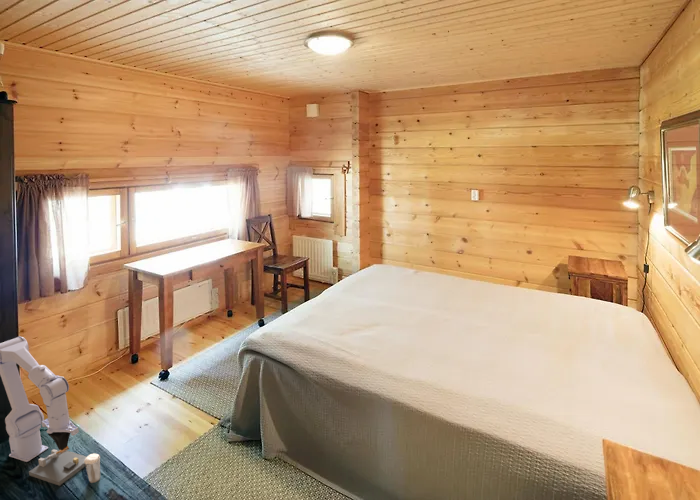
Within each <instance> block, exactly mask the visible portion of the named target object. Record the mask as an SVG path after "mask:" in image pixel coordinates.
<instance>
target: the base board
mask: <svg viewBox="0 0 700 500" xmlns="http://www.w3.org/2000/svg"><path fill="white" fill-rule="evenodd" d="M57 451H59V449H54V448H53V449H52V450H51V453H50V454H53V453H55V452H57ZM86 457H87V456H86V455H83V454H79V453H76V452H73V451H69V450H67V451H66V452H64V453H63V454H61V455H58V456H56V457H54V458H51V459H49V460H45V459H44V458H45V457H40V458H38V465H37V466H35V467H34V468H32V469H31V470H29V471H28V474H29V476H30V477H32V478H37V479H39V480H42V481H44V482H47V483H50V484H53V485H56V486H59V487H60V486H61V485H62V484H64V483H65V482H67V481H69V480H70V478H72V477H73V476H75V475H76V474H77V473H78V472H79V471H81V470H83V469H84V468H86V467H85V463H84V460H85V458H86Z"/></svg>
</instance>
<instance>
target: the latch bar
mask: <svg viewBox="0 0 700 500" xmlns="http://www.w3.org/2000/svg"><path fill="white" fill-rule="evenodd" d="M69 450H70V448H69V446H68V445H67V447H66V448H65V449H63V450H59V449H58V451H57V452H55V453H53V454H52V453H50V454H49V455H47V456H46V457H43V458H44V459H45V460H49V459H51V458H54V457H56V456H58V455H61V454H63V453H64V452H66V451H69Z"/></svg>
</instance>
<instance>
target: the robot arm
mask: <svg viewBox="0 0 700 500" xmlns="http://www.w3.org/2000/svg"><path fill="white" fill-rule="evenodd" d="M17 365H18V366H20V368H22V369H23V370H24V371H26V372H27V373H28V375H27V377H28V379H29V380H30V382H32V383H33V384H34V385H35V386H36V388H38V389H39V395H40V397H41V398H42V402H43V404H44V405H45V408H46V414H47V418H45V415H44V413H43V412H42V410H41V409H40V407H39V405H37V404H33V403H30V402H29V399H28V395H27V393H26V390H25V386H24V384H23V381H22V378H21V376H20V372H19V368H18V366H17ZM0 378H1V382H2V384H3V387H4V390H5V392H6V395H7V399H8V401H9V402H8V403H9V404H10V407H11V410H10V412H9V413H8V414H7V416H6V417H5V419H4V423H5V430H6V432H7V434H8V436H9V437H8V442H9V447H10V453H9V455H8V456H9V457H10V458H14V459H16V460H20V461H22V462H26V463H27V462H29V461H31V460H32V459H34V458H35V457H37V456H39V455H40V454H42V453H44V452H45V451H47V449H49V447H48V446H47V445H43V443H42V438H41V431H40V430H41V428H47V430H46V433H47V434H48V436H49V437H50V438H51V440H53V441H54V442H55V445H56V447H57V450H58V451H59V450H63V449H65V448H66V447H67V446H68V445H69V440H70V436H76V435H77V434H78V433H79V432H80V431H79V427H78V426H76V425H75V424H74V423H73V422H72V421H71V420H70V413H69V408H68V401H67V393H68V392H69V390H70V385H69V382H68V380H67V379H66V377H64V376H61V375H56V374H55V373H54V372H53V371H52V370H50V368H49V367H47V365H45V364H40V363H38V361H37V360H36V359H35V358H34V356H33V355H32V354H31V353H30V349H29V343H28V340H27V339H26V338H25V337H23V336H19V335H18V336H17V337H14V338H12V339H8V340H5V341H4V342H0Z"/></svg>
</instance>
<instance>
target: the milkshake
mask: <svg viewBox="0 0 700 500" xmlns="http://www.w3.org/2000/svg"><path fill="white" fill-rule="evenodd" d="M84 463H85V467H84V468H86V473H87V477H88V481H89V483H91V484H93V483H96V482H99V481H100V480H101V455H100V454H98V453H90V454H89V455H87V456H86V458H85V460H84Z"/></svg>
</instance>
